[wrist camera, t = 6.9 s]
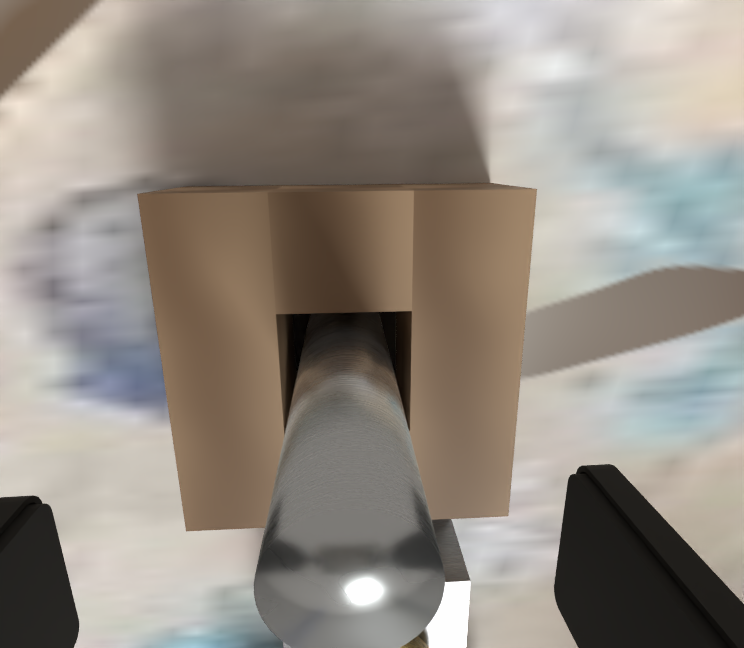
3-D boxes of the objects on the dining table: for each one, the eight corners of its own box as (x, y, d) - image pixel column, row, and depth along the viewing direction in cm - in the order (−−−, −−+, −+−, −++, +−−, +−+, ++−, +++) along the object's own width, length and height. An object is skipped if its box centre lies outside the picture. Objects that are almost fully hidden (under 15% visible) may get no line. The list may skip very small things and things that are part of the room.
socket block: (491, 183, 20) (536, 189, 16) (474, 446, 24) (507, 516, 19) (186, 186, 20) (137, 193, 15) (217, 455, 23) (186, 530, 19)
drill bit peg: (381, 292, 21) (448, 503, 8) (381, 362, 22) (441, 655, 9) (305, 293, 21) (246, 513, 8) (309, 364, 22) (261, 665, 9)
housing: (450, 517, 25) (470, 581, 21) (444, 640, 28) (461, 717, 24) (288, 525, 25) (278, 591, 21) (297, 649, 27) (289, 728, 23)
